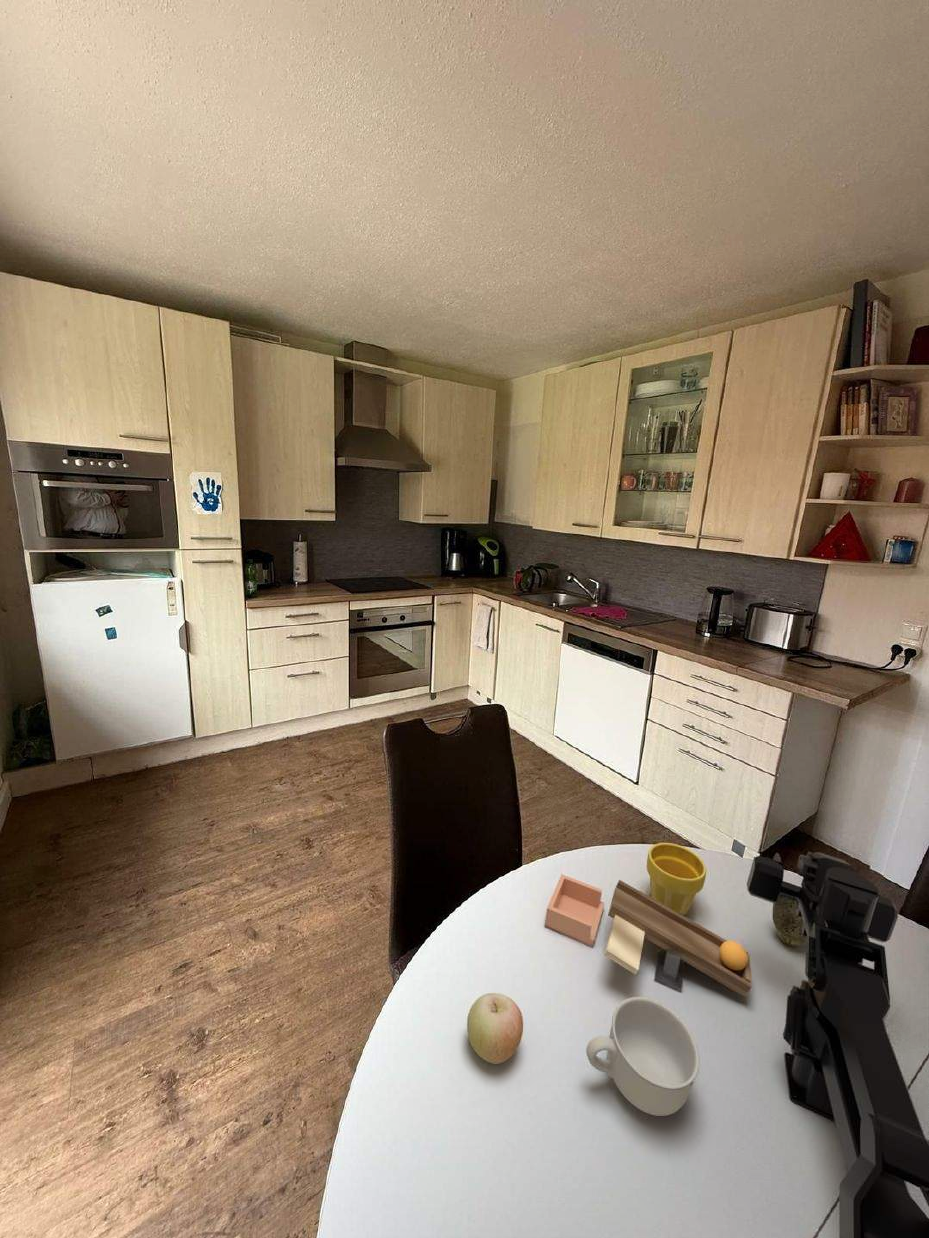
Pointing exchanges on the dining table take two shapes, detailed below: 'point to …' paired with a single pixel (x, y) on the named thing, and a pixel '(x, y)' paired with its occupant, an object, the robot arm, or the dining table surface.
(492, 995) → the fruit
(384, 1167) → the dining table surface
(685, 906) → the plant pot
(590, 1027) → the dining table surface
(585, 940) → the peach open tray
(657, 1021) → the teacup
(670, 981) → the seesaw stand
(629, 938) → the lever
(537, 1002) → the dining table surface
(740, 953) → the ball
